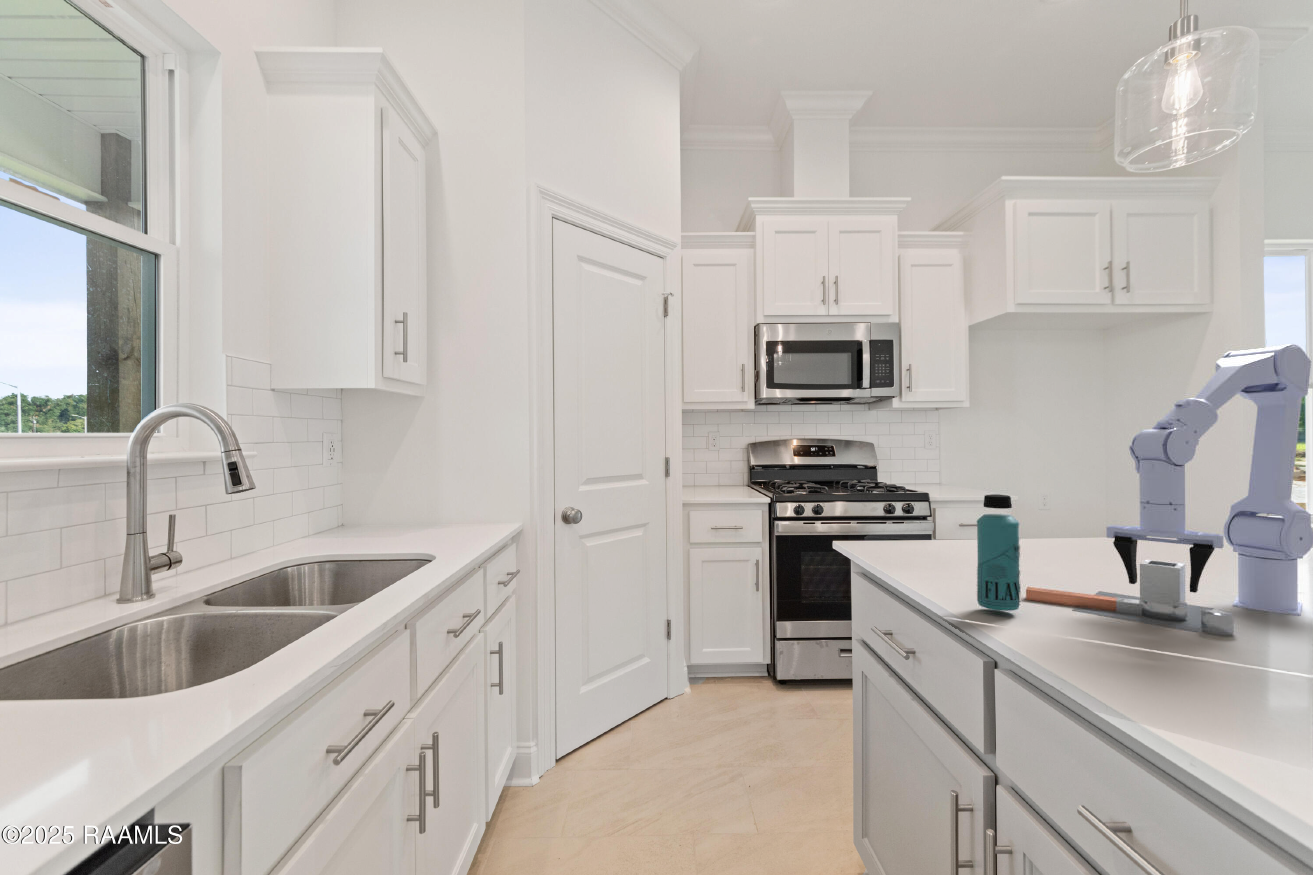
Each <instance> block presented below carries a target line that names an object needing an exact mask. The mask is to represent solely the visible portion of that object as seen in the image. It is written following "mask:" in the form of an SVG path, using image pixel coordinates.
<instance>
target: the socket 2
mask: <svg viewBox="0 0 1313 875" xmlns="http://www.w3.org/2000/svg"><path fill="white" fill-rule="evenodd" d="M1234 618H1235V615H1234V614H1232V613H1229V612H1226V611H1221V610H1217V609H1216V610H1214V609H1213V610H1202V611H1201V628H1200V631H1201V632H1202V633H1204V634H1208V635H1212V636H1218V637H1226V638H1227V637H1234V635H1235V633H1234V632H1235V628H1234V626H1235V623H1234V621H1235V619H1234Z"/></svg>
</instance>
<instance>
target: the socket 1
mask: <svg viewBox="0 0 1313 875" xmlns="http://www.w3.org/2000/svg"><path fill="white" fill-rule="evenodd" d="M1139 597H1140V601H1146V602H1152V603H1159V604H1165V605H1172V606H1178V607H1180V606H1181V605H1182V604H1183V603H1184V602H1186V563H1183V562H1175V561H1173V562H1172V561H1164V560H1158V559H1157V560H1156V559H1144V560H1143V561H1141V562H1140V563H1139Z"/></svg>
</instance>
